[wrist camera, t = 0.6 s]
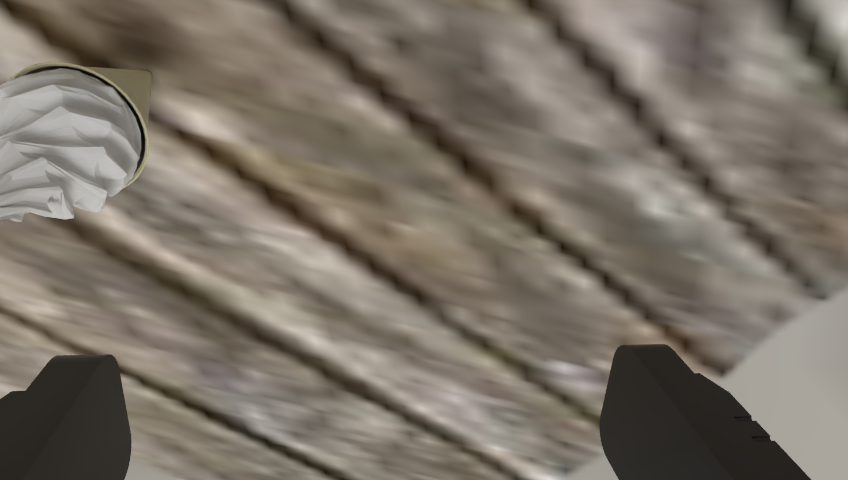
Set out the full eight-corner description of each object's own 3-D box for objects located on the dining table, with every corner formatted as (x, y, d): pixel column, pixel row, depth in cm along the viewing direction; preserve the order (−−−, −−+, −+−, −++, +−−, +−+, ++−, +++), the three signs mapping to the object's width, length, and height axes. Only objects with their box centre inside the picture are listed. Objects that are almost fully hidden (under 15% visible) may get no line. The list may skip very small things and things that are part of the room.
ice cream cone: (67, 73, 28) (-193, 225, 15) (132, -5, 26) (-94, 87, 13) (158, 146, 30) (1, 333, 17) (223, 78, 28) (105, 225, 15)
